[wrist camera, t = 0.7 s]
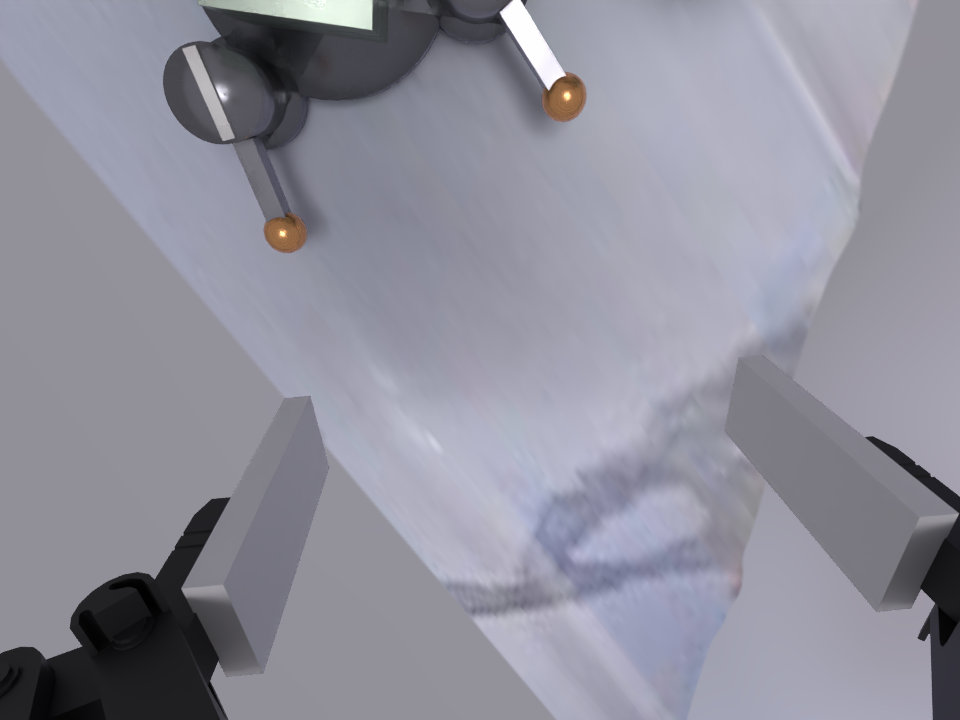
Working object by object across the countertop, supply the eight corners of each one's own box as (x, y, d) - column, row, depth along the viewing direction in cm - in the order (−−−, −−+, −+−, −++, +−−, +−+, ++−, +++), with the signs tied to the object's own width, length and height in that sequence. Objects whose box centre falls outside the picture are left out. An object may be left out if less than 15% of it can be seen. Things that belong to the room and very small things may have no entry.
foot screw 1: (191, 61, 30) (141, 54, 25) (266, 40, 30) (231, 29, 25) (273, 248, 35) (245, 272, 31) (337, 231, 35) (320, 253, 30)
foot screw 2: (417, -35, 29) (411, -62, 24) (484, -103, 27) (491, -145, 22) (535, 140, 33) (550, 147, 28) (596, 89, 32) (623, 88, 27)
